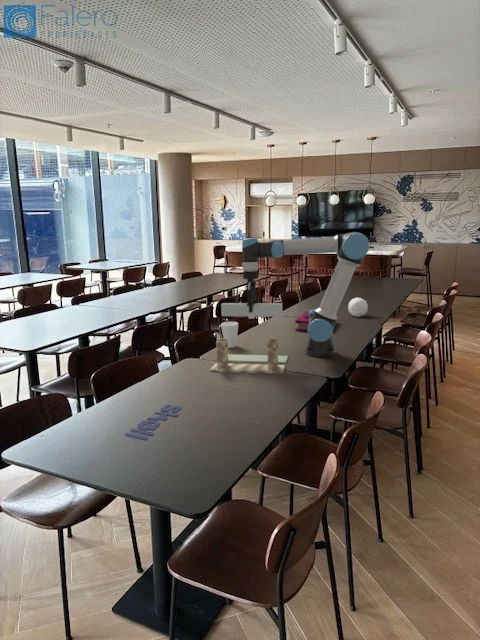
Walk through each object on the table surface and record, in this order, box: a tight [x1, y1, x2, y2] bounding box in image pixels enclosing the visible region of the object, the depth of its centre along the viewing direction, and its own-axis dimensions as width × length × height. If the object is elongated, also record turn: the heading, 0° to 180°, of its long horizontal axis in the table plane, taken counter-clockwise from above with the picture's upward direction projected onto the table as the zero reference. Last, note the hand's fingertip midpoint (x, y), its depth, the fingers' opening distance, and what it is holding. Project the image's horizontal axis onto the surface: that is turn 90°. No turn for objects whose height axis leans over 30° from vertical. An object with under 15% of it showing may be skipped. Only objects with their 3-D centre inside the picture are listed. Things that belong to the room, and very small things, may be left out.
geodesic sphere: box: [347, 297, 369, 318], centre depth 331 cm, size 14×14×14 cm
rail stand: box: [209, 337, 286, 375], centre depth 222 cm, size 34×10×14 cm, turn 79°
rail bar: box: [220, 302, 283, 318], centre depth 234 cm, size 30×3×6 cm, turn 79°
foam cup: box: [220, 321, 239, 349], centre depth 264 cm, size 10×9×13 cm
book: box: [294, 311, 309, 333], centre depth 304 cm, size 21×28×8 cm
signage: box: [123, 404, 182, 441], centre depth 170 cm, size 28×1×10 cm
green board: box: [228, 354, 289, 364], centre depth 239 cm, size 34×10×1 cm, turn 79°
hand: (251, 317), depth 235 cm, fingers closed on rail bar, 3 cm apart
